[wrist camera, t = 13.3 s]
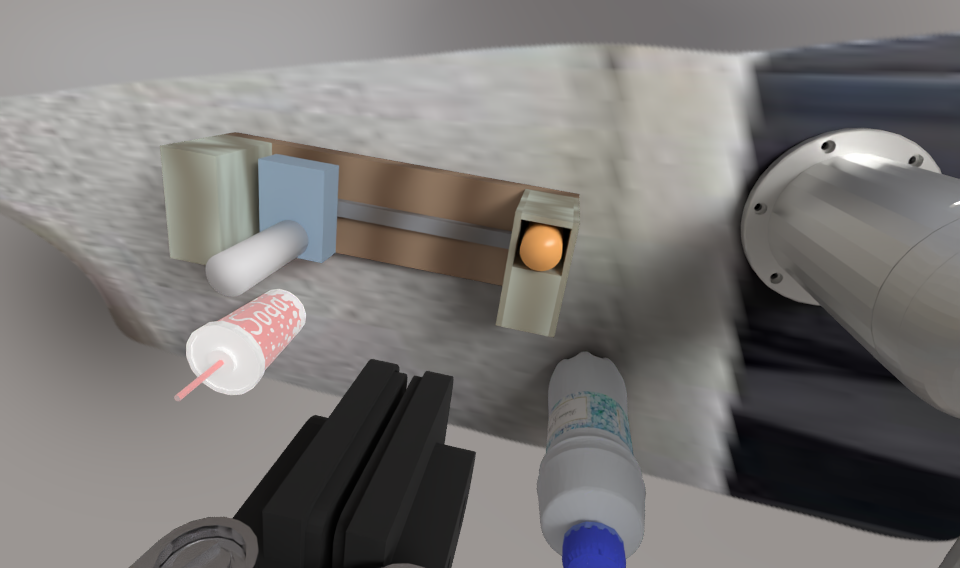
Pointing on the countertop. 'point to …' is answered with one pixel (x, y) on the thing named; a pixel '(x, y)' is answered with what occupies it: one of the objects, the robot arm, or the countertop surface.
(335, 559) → the robot arm
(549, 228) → the button
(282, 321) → the beverage cup
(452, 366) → the countertop surface
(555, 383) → the bottle
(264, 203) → the carriage
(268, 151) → the rail stand
